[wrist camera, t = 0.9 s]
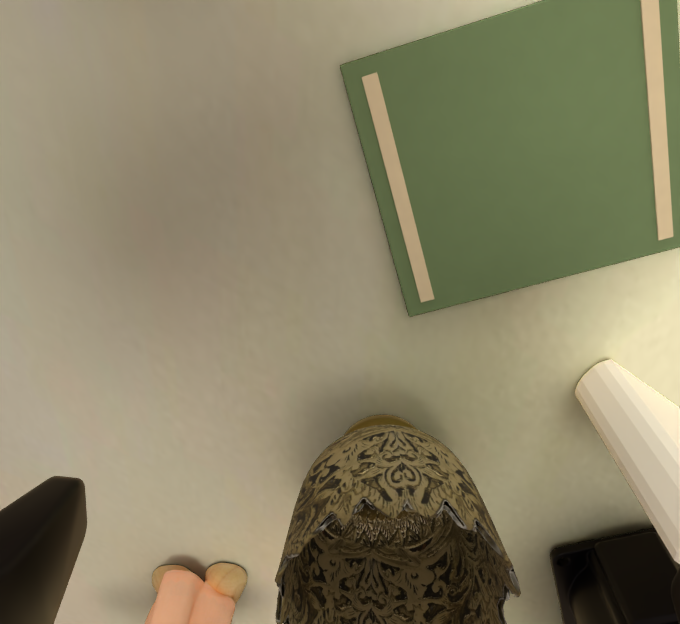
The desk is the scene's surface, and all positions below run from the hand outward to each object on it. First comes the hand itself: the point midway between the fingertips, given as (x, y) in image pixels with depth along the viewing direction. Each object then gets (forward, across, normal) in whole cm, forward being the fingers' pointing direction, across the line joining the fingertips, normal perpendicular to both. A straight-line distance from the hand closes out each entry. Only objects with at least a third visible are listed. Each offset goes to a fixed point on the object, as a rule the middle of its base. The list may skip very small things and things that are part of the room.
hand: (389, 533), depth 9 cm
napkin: (+14, -5, -3) cm, 15 cm away
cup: (+14, -2, +9) cm, 17 cm away
